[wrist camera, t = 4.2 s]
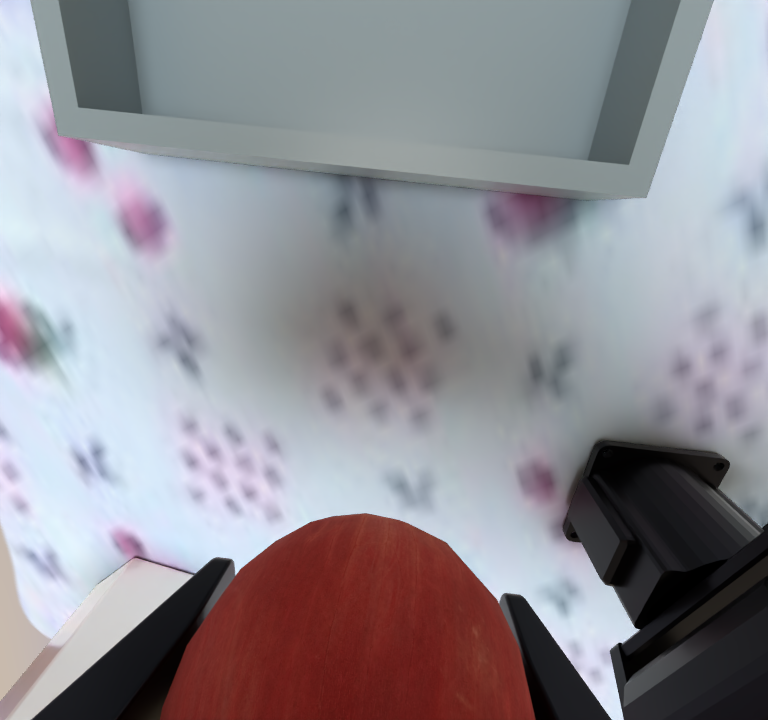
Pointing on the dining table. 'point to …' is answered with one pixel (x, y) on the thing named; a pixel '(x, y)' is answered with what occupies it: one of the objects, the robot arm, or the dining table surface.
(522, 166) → the tray
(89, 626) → the jar
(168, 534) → the dining table surface
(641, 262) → the dining table surface
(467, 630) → the onion
